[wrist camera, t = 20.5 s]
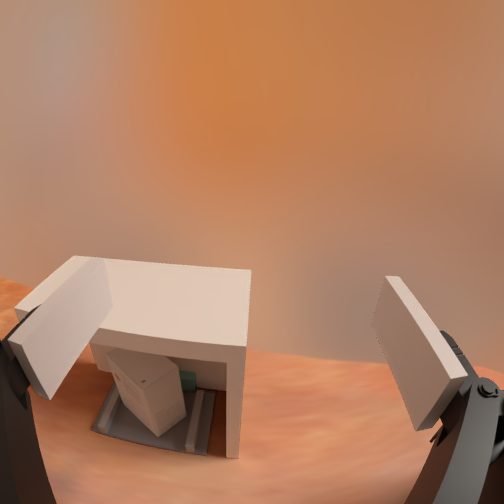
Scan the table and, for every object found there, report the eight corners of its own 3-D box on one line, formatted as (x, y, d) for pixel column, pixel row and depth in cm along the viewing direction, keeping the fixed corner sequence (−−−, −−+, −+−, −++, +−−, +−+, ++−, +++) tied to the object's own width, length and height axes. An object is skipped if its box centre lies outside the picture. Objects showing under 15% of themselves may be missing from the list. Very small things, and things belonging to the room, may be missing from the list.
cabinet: (238, 458, 30) (246, 346, 23) (69, 423, 30) (14, 307, 23) (243, 384, 43) (251, 270, 35) (101, 364, 43) (74, 255, 35)
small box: (187, 417, 35) (180, 365, 31) (157, 438, 31) (142, 390, 27) (151, 386, 40) (139, 334, 36) (122, 404, 35) (104, 352, 31)
